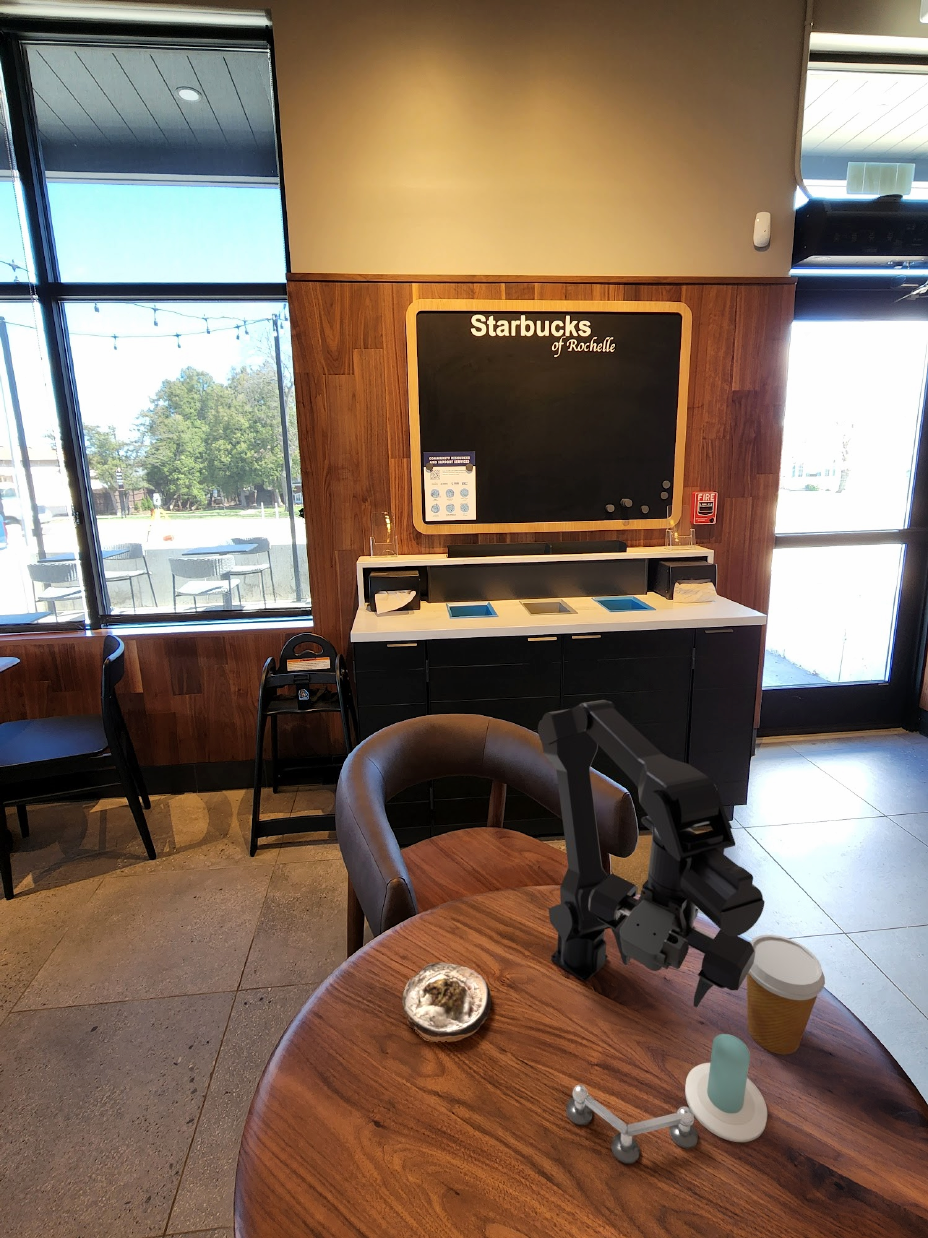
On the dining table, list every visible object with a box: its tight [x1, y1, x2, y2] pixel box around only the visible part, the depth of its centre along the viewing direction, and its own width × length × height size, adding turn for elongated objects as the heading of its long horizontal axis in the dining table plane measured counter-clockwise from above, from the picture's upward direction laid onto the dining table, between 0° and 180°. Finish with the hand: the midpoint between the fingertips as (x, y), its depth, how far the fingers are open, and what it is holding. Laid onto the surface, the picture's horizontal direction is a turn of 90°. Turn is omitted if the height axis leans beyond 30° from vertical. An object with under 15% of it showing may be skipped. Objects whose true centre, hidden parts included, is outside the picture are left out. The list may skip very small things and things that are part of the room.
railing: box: [566, 1084, 698, 1165], centre depth 72 cm, size 13×9×4 cm
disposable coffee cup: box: [746, 934, 826, 1056], centre depth 83 cm, size 10×10×12 cm
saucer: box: [684, 1062, 768, 1143], centre depth 75 cm, size 9×9×1 cm
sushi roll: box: [401, 962, 492, 1043], centre depth 88 cm, size 15×15×4 cm
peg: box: [707, 1033, 751, 1113], centre depth 74 cm, size 4×4×7 cm
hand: (660, 983), depth 78 cm, fingers open, 9 cm apart
